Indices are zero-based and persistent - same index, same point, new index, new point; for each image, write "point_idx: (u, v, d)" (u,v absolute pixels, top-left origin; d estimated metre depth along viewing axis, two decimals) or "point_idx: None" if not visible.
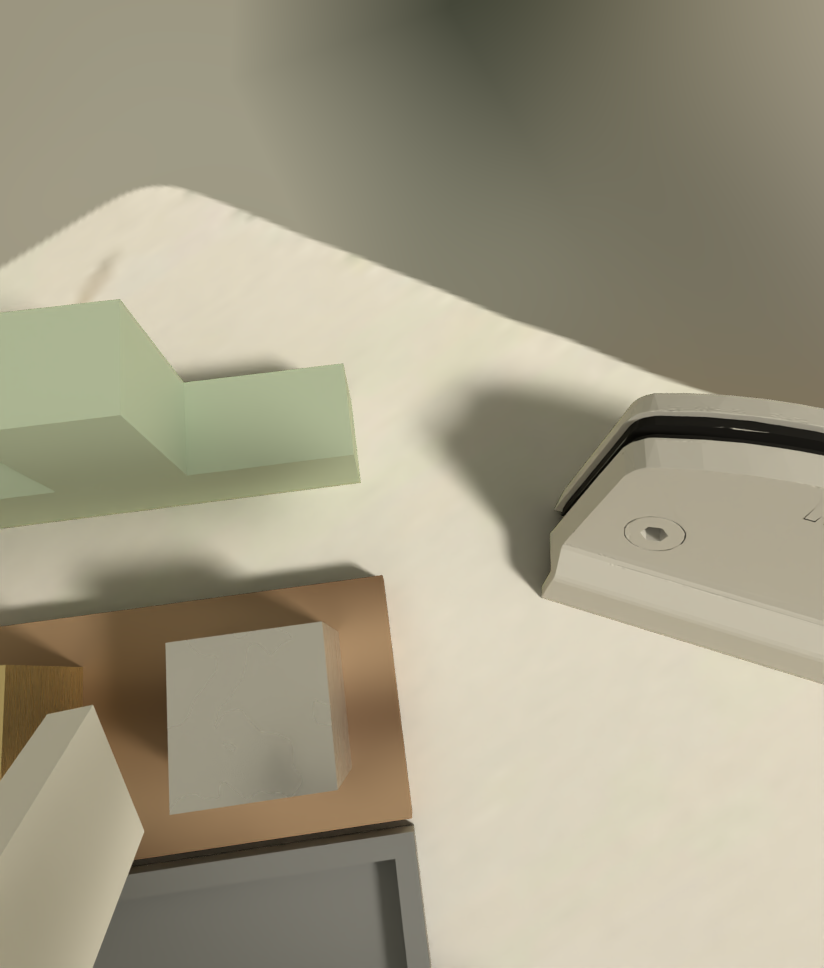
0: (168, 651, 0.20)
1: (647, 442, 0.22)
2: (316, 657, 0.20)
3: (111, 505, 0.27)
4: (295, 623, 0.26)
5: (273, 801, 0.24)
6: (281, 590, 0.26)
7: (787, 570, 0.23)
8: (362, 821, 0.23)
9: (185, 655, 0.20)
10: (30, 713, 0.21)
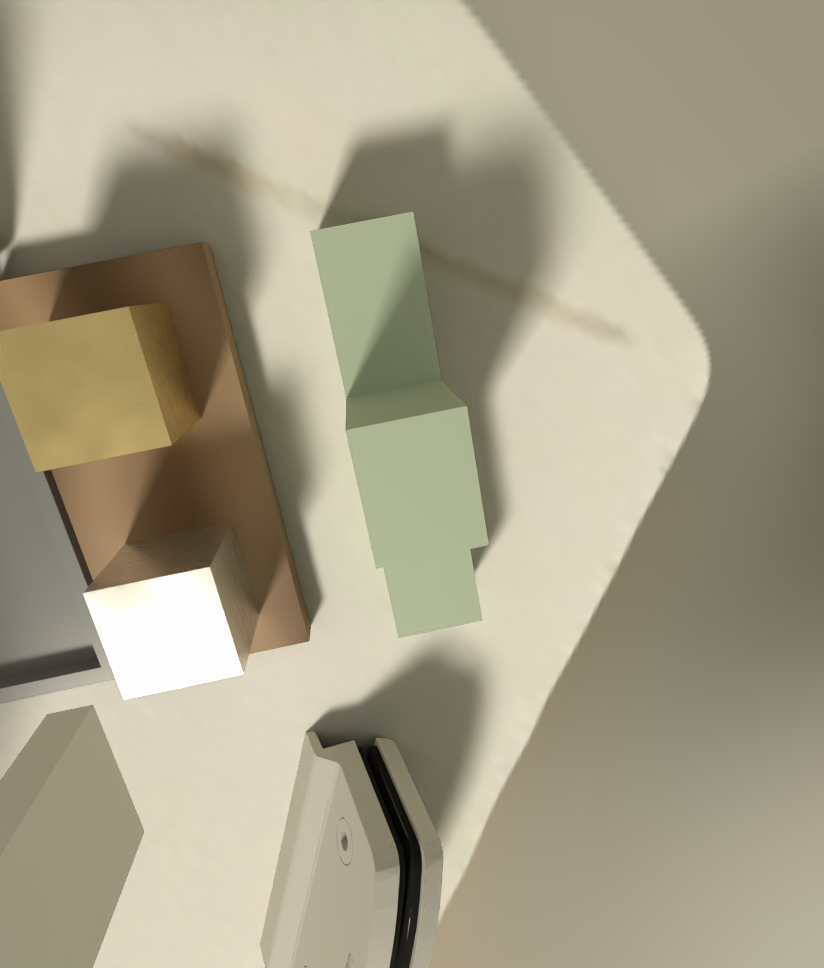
0: (203, 570, 0.25)
1: (395, 869, 0.30)
2: (215, 674, 0.27)
3: None
4: (262, 582, 0.31)
5: None
6: (288, 568, 0.31)
7: (327, 915, 0.34)
8: None
9: (201, 583, 0.25)
10: None
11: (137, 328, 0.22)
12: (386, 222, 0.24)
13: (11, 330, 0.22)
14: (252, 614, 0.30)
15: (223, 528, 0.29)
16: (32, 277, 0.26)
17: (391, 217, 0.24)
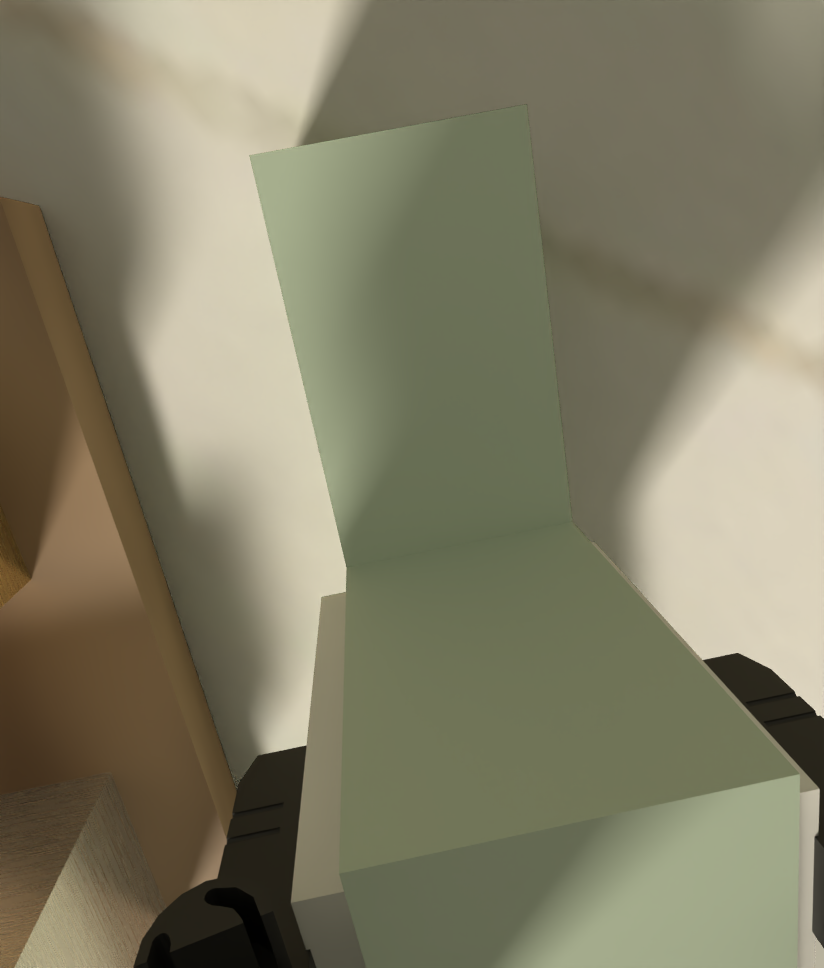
0: None
1: None
2: None
3: None
4: (176, 873, 0.16)
5: None
6: None
7: None
8: None
9: None
10: None
11: None
12: (454, 133, 0.09)
13: None
14: None
15: (86, 800, 0.14)
16: None
17: (468, 120, 0.09)
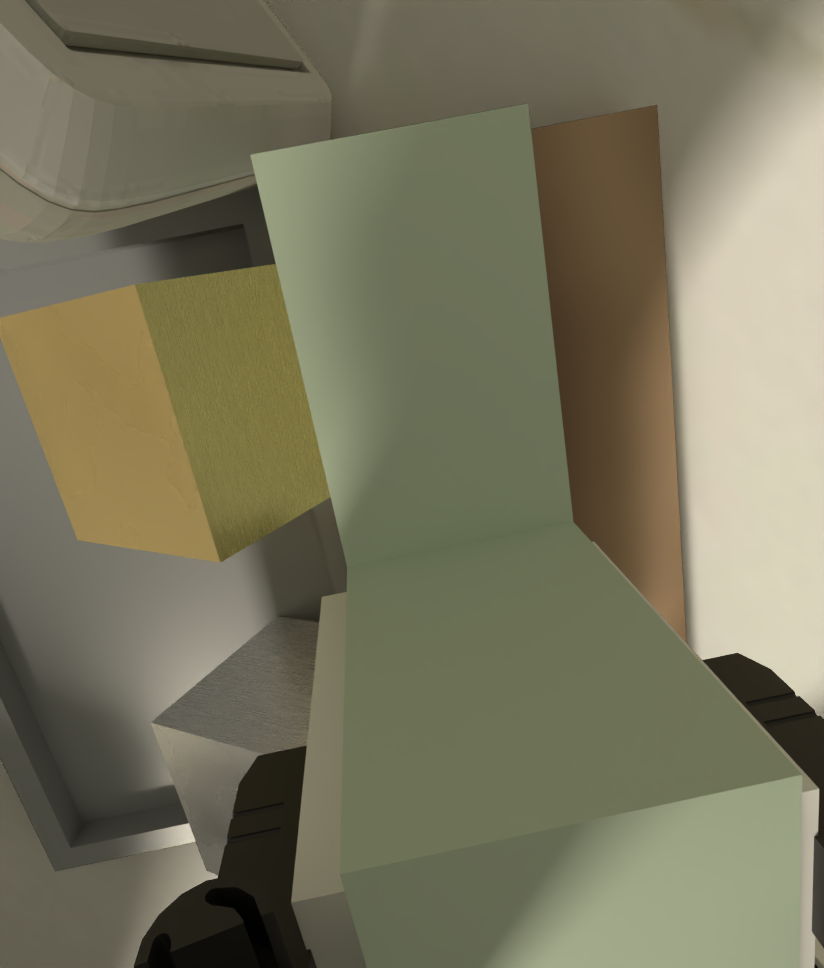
0: None
1: None
2: None
3: None
4: None
5: None
6: (683, 638, 0.20)
7: None
8: None
9: None
10: None
11: (161, 330, 0.11)
12: (455, 133, 0.09)
13: (17, 316, 0.13)
14: None
15: None
16: None
17: (469, 119, 0.09)
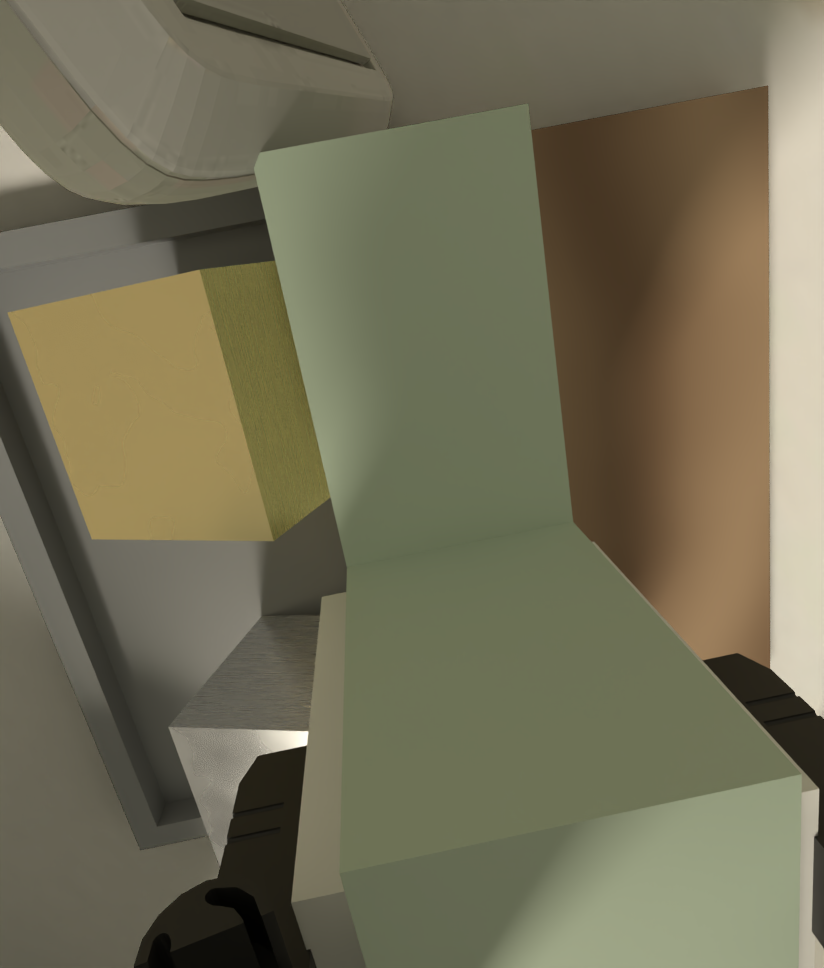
0: None
1: None
2: None
3: None
4: (726, 637, 0.20)
5: None
6: (767, 616, 0.20)
7: None
8: None
9: None
10: None
11: (220, 314, 0.11)
12: (456, 133, 0.09)
13: (40, 307, 0.12)
14: None
15: None
16: None
17: (469, 119, 0.09)
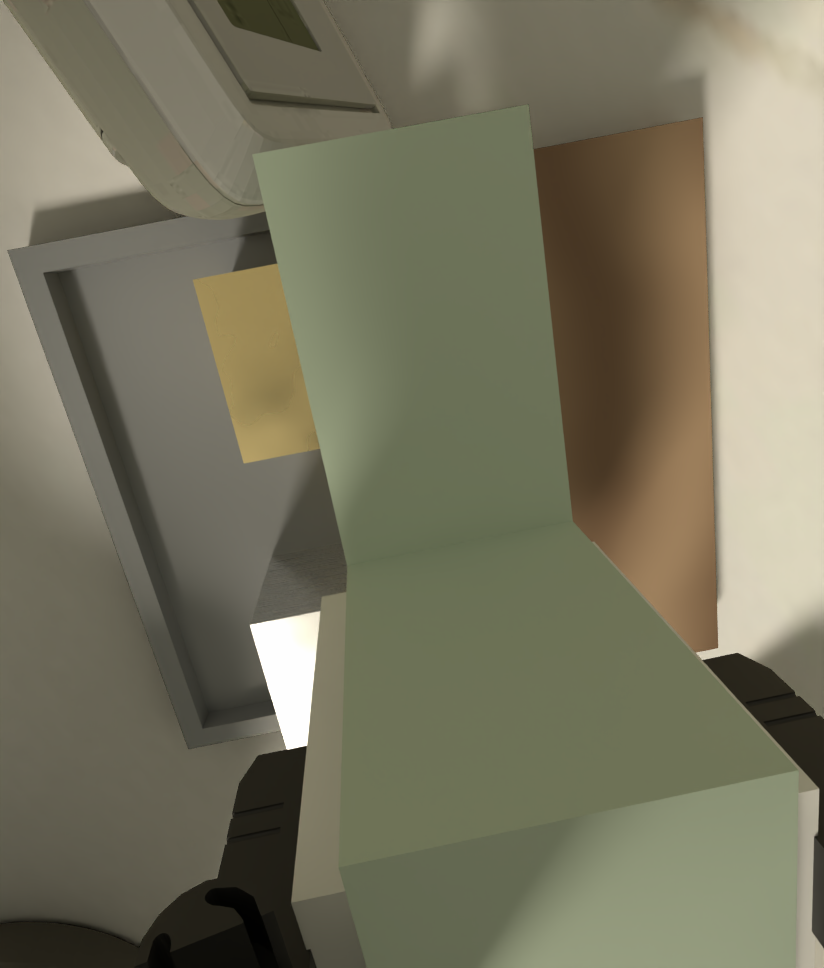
0: None
1: None
2: None
3: None
4: (678, 573, 0.24)
5: None
6: (713, 555, 0.24)
7: None
8: None
9: None
10: None
11: None
12: (455, 133, 0.09)
13: (231, 274, 0.16)
14: None
15: None
16: None
17: (470, 120, 0.09)
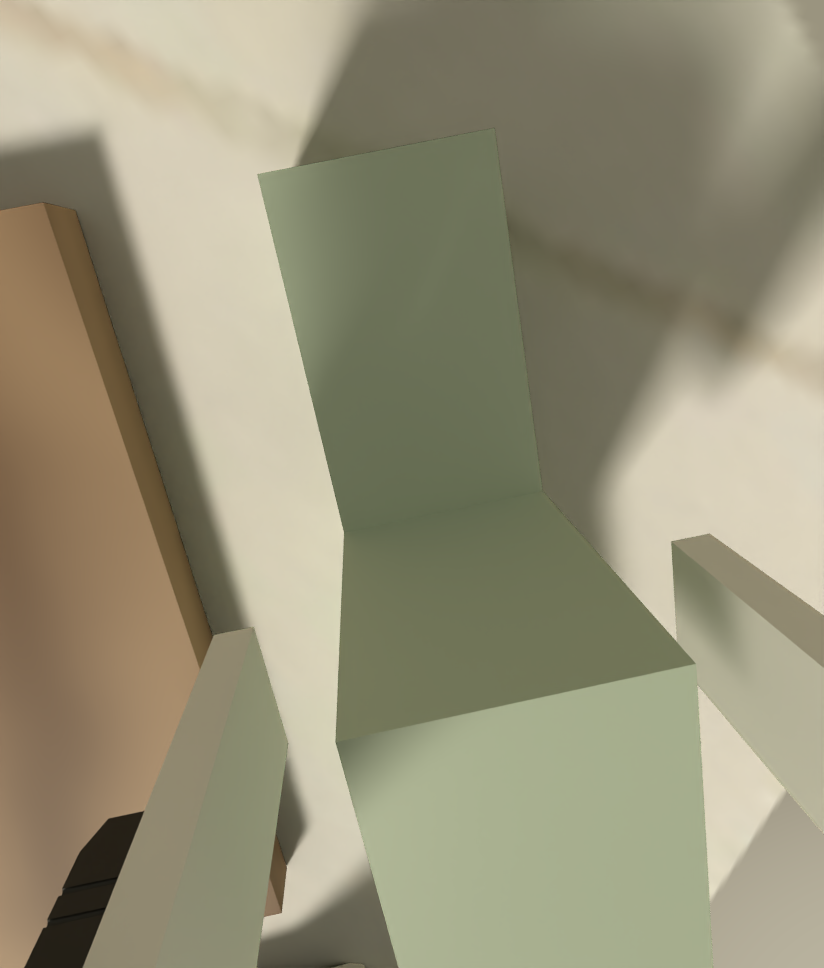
0: None
1: None
2: None
3: None
4: None
5: None
6: None
7: None
8: None
9: None
10: None
11: None
12: (433, 153, 0.11)
13: None
14: None
15: None
16: None
17: (444, 142, 0.11)
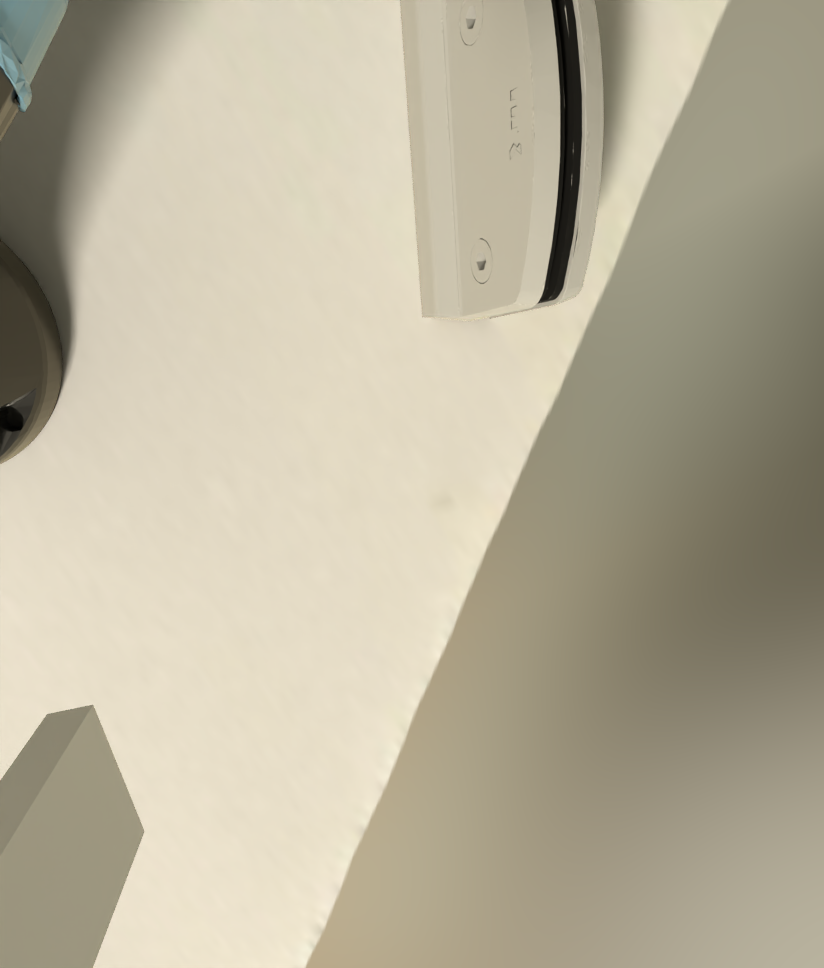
0: None
1: None
2: None
3: None
4: None
5: None
6: None
7: (477, 135, 0.30)
8: None
9: None
10: None
11: None
12: None
13: None
14: None
15: None
16: None
17: None
